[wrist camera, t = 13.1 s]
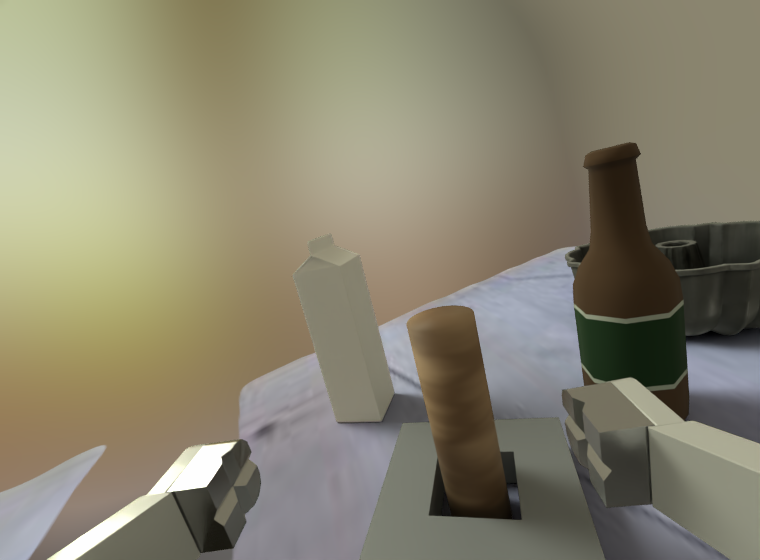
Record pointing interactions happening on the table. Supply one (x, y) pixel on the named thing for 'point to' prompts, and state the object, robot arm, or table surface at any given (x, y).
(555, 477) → the socket block
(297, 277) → the milk
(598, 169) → the beer bottle
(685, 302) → the bundt pan
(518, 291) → the table surface
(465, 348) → the dowel
